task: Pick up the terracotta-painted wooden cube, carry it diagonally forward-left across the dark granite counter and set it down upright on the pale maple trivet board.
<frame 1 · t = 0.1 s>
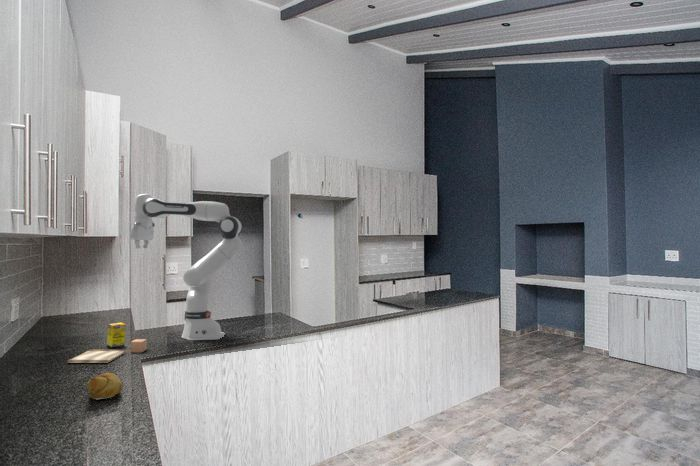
hand: (141, 248, 214), 48 cm above the counter, fingers open, 8 cm apart
bread roll: (105, 395, 133), on the counter
supplement box: (115, 346, 192), on the counter
cube: (138, 351, 185), on the counter
board: (98, 358, 172), on the counter
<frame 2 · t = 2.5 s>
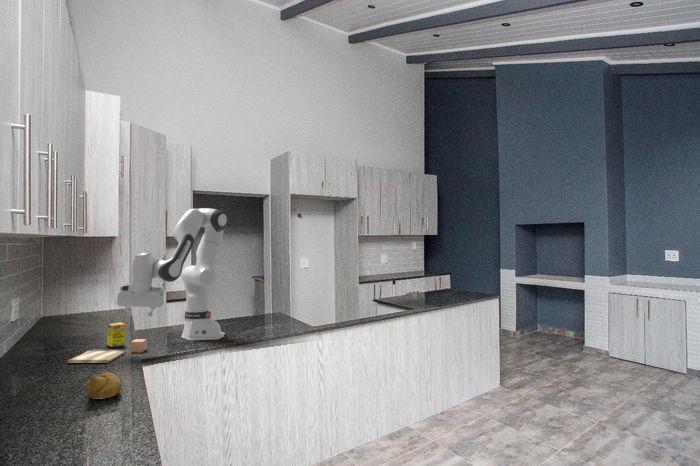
hand: (139, 316, 185), 16 cm above the counter, fingers open, 8 cm apart
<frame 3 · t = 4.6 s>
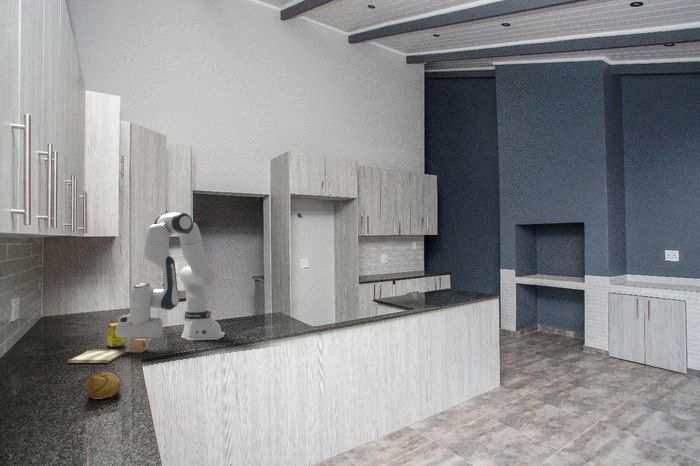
hand: (138, 346, 185), 2 cm above the counter, fingers closed on cube, 5 cm apart
cube: (138, 350, 185), on the counter, touching gripper
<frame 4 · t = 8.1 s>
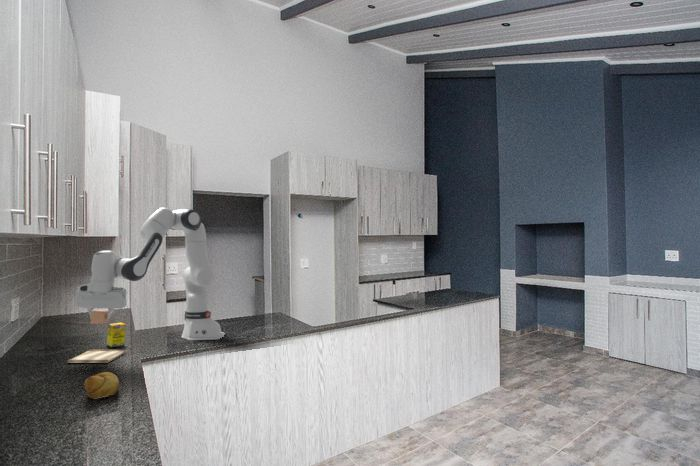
hand: (100, 318, 173), 18 cm above the counter, fingers closed on cube, 5 cm apart
cube: (99, 322, 172), point 16 cm above the counter, touching gripper
when the fingers open (4 cm above the counter, at t = 11.7 s): cube stays where it is, resting on board.
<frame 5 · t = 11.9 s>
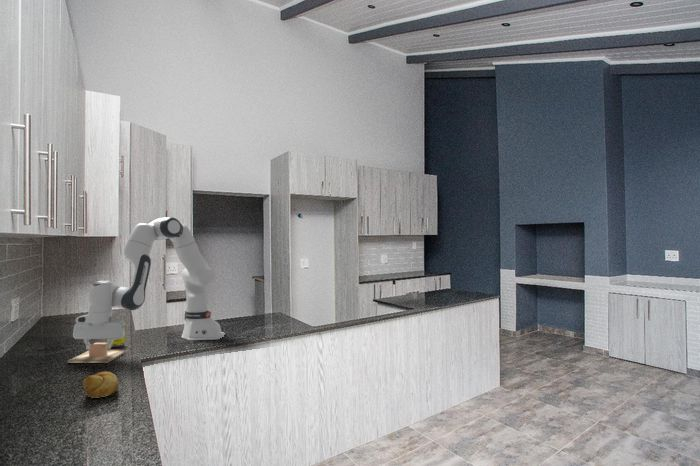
hand: (98, 348, 172), 4 cm above the counter, fingers open, 7 cm apart
cube: (98, 355, 172), point 1 cm above the counter, touching board
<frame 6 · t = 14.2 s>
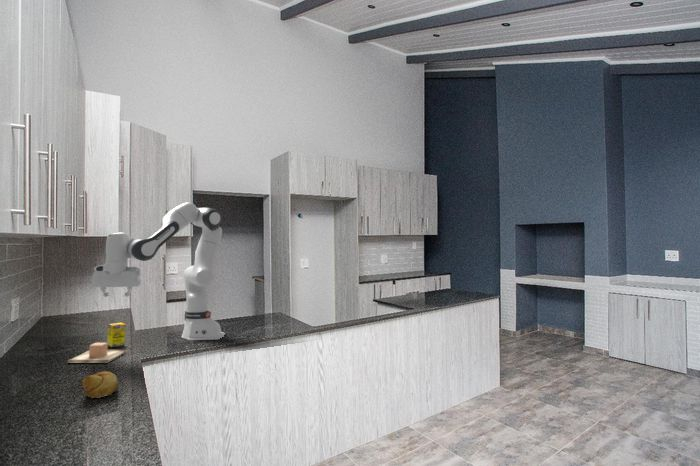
hand: (116, 296, 183), 26 cm above the counter, fingers open, 8 cm apart
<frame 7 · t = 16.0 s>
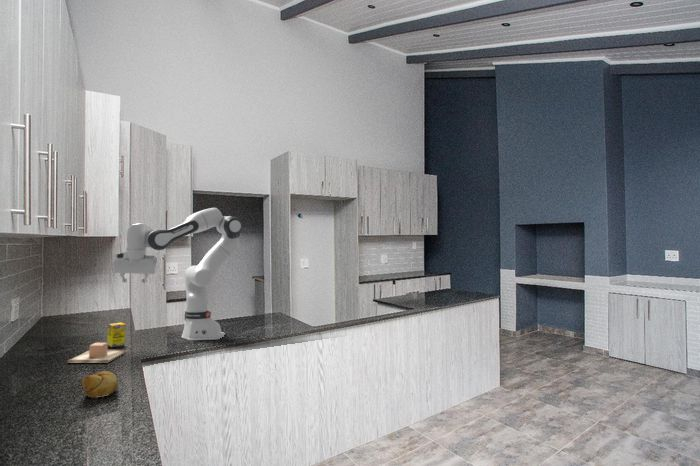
hand: (134, 282, 196), 31 cm above the counter, fingers open, 8 cm apart
at the end: cube inside the target area on the board (0.0 cm from its centre), point 1.2 cm above the board's base; cube tilted 0°; the gripper is holding nothing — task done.
